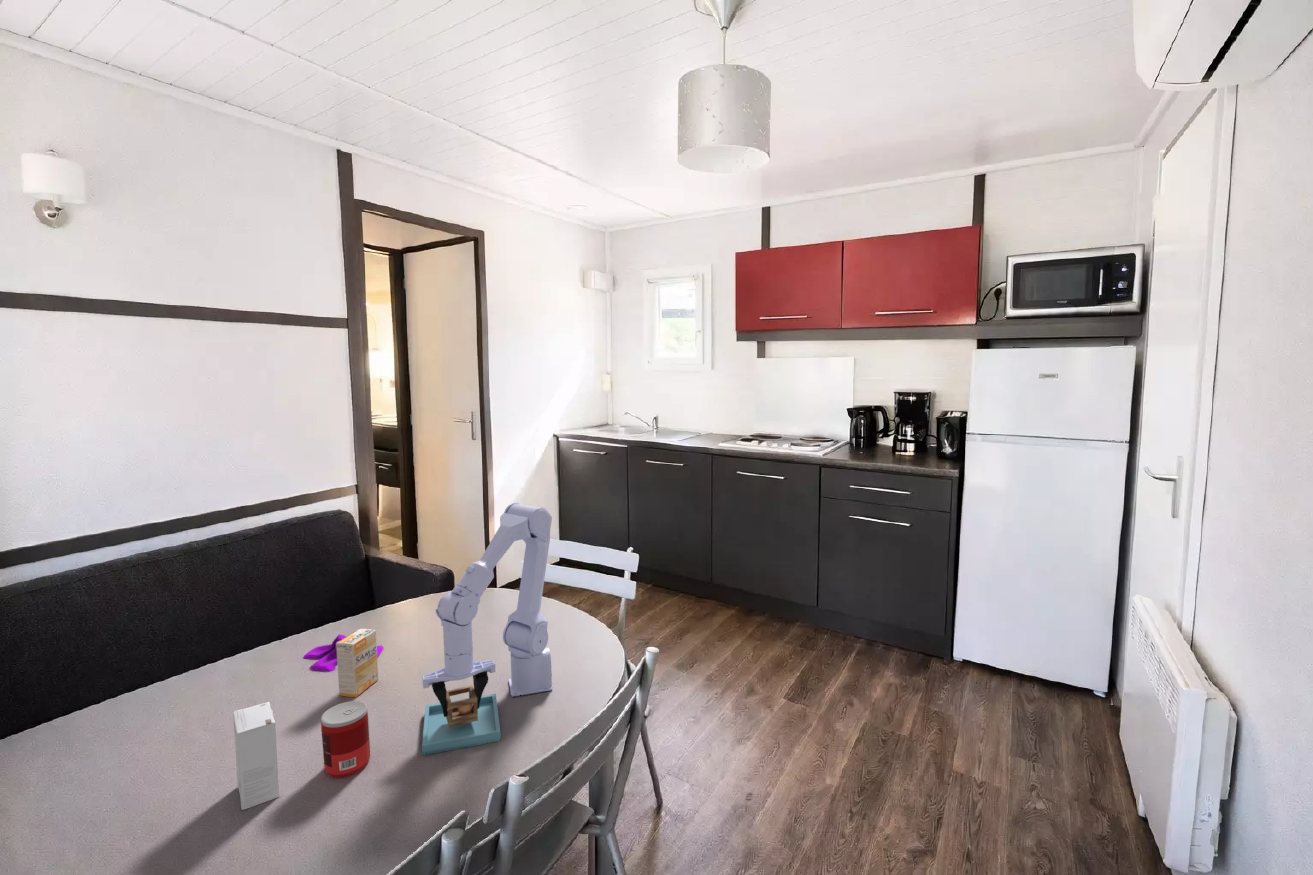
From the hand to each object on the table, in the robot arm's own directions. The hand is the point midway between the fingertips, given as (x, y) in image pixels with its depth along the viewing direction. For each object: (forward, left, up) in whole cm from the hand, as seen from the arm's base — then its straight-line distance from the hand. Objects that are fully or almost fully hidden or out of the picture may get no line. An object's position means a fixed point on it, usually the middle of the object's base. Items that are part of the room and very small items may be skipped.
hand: (461, 710), depth 128 cm
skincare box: (+35, +9, -4) cm, 36 cm away
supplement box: (+23, -24, -4) cm, 33 cm away
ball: (-1, 0, +1) cm, 1 cm away
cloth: (+30, -45, -5) cm, 54 cm away
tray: (0, 0, -4) cm, 4 cm away
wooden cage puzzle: (0, 0, -2) cm, 2 cm away
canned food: (+21, +6, -4) cm, 22 cm away
